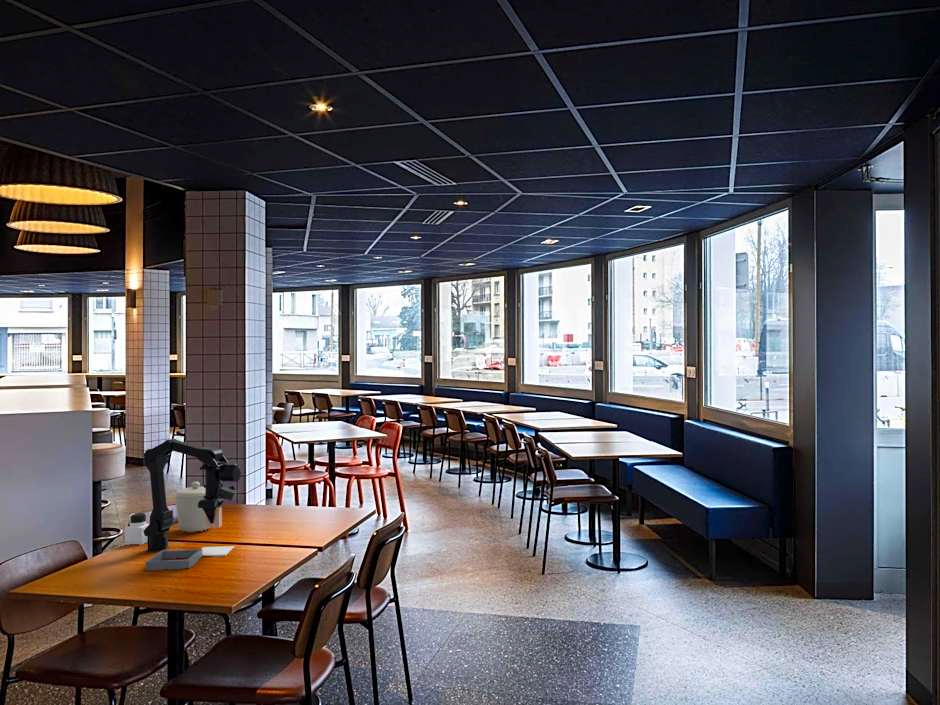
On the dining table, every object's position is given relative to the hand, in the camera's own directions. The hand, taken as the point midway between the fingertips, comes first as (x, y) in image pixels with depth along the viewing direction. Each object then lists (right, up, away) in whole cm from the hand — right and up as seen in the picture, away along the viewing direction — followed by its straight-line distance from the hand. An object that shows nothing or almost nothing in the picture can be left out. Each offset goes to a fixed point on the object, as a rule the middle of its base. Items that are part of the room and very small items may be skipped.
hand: (213, 521), depth 278 cm
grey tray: (-9, -12, -15) cm, 21 cm away
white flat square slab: (0, -12, 0) cm, 12 cm away
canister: (-21, -13, +38) cm, 45 cm away
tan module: (0, -2, 0) cm, 2 cm away
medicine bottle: (-37, -13, +17) cm, 42 cm away
